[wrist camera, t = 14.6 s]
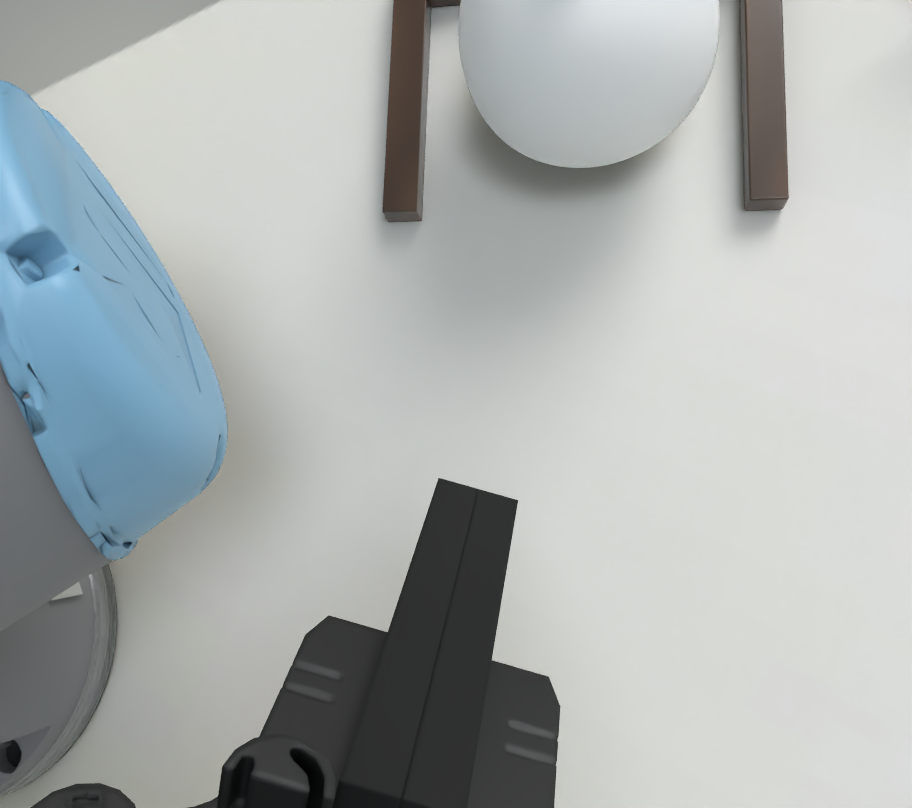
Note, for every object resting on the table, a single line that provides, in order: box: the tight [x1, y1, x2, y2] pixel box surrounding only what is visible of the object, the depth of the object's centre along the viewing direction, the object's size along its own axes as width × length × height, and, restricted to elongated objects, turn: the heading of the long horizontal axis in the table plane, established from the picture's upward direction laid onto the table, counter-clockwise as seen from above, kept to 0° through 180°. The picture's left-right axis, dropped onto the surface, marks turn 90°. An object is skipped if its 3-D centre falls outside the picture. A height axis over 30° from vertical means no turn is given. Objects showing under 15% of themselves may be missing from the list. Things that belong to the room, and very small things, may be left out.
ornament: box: [458, 0, 720, 168], centre depth 33 cm, size 10×10×12 cm
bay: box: [383, 0, 789, 222], centre depth 39 cm, size 18×12×1 cm
